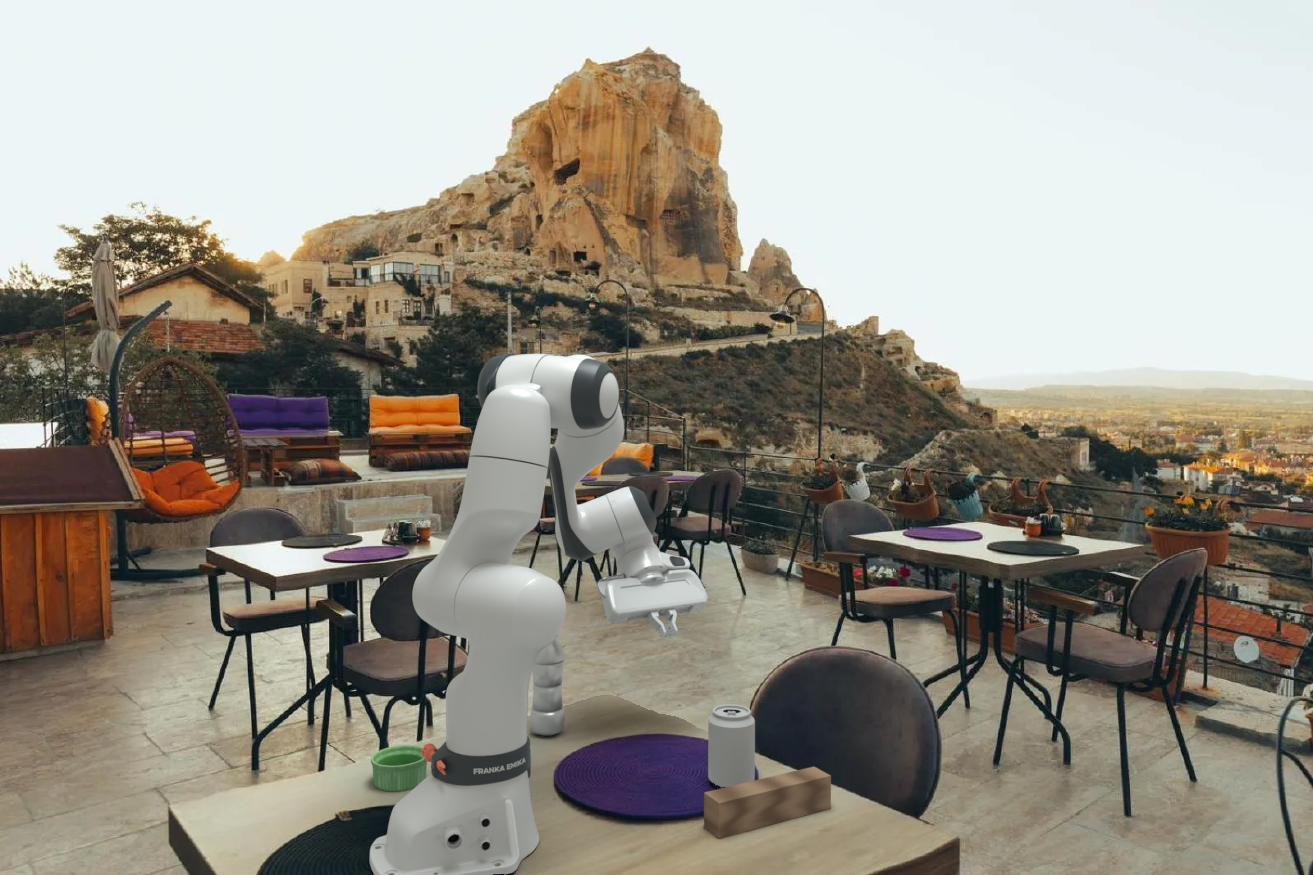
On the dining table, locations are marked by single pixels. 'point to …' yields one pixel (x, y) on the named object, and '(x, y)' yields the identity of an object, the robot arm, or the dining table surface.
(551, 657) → the plastic bottle
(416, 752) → the ramekin
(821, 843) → the dining table surface
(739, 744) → the can
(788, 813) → the wooden block
